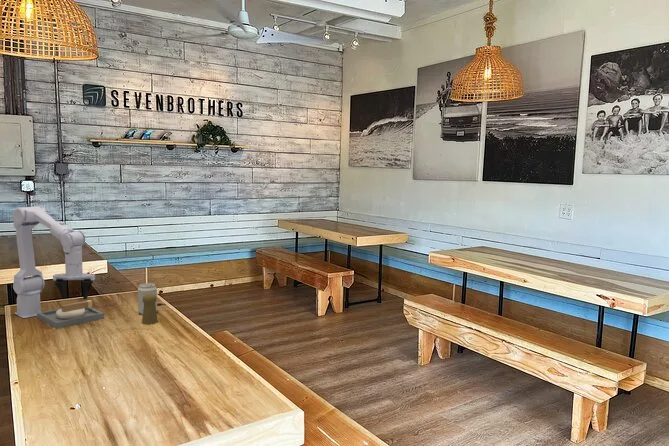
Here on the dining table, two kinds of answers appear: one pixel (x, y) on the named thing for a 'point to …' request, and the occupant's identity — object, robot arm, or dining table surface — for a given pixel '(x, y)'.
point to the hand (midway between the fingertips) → (74, 298)
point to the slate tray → (55, 322)
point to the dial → (73, 310)
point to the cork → (149, 309)
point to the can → (145, 290)
